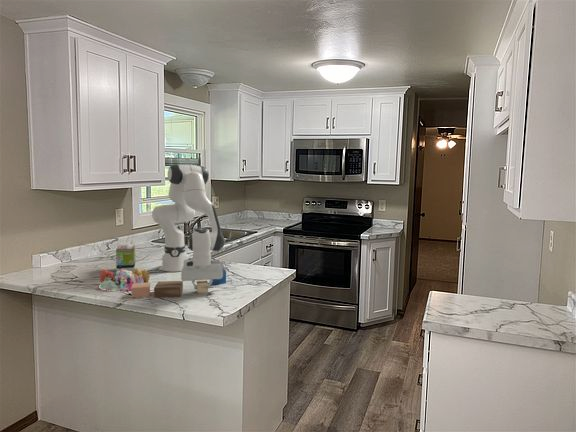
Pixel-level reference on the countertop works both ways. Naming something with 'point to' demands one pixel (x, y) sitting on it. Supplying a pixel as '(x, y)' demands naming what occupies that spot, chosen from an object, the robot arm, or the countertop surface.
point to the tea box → (125, 258)
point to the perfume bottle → (220, 281)
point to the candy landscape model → (123, 279)
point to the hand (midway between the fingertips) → (202, 288)
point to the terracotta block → (140, 290)
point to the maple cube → (202, 286)
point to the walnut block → (168, 289)
